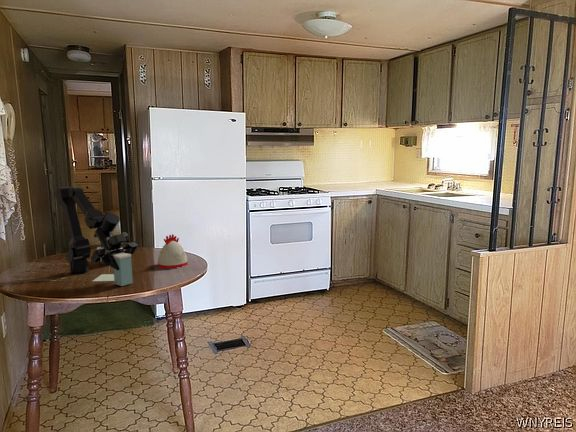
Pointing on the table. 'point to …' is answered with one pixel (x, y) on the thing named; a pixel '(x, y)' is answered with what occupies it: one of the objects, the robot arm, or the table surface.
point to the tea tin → (123, 269)
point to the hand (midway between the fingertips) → (124, 268)
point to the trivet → (104, 278)
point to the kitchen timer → (172, 254)
